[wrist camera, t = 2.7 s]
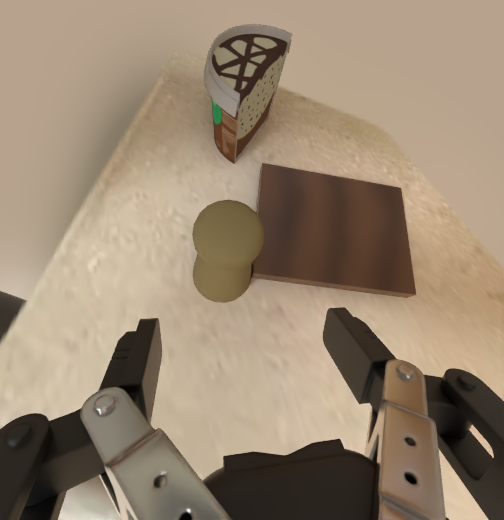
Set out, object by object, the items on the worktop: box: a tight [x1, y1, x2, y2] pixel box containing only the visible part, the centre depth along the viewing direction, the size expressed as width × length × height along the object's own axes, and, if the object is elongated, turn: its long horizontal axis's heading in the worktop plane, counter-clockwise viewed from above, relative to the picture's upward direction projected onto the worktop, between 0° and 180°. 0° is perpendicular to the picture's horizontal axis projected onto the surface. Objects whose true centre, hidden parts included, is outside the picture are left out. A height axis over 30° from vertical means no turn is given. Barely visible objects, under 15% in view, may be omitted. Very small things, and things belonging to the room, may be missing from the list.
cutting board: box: [251, 163, 416, 298], centre depth 32 cm, size 18×14×2 cm
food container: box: [204, 24, 292, 164], centre depth 31 cm, size 12×6×10 cm, turn 152°
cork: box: [193, 200, 264, 302], centre depth 24 cm, size 6×6×11 cm
